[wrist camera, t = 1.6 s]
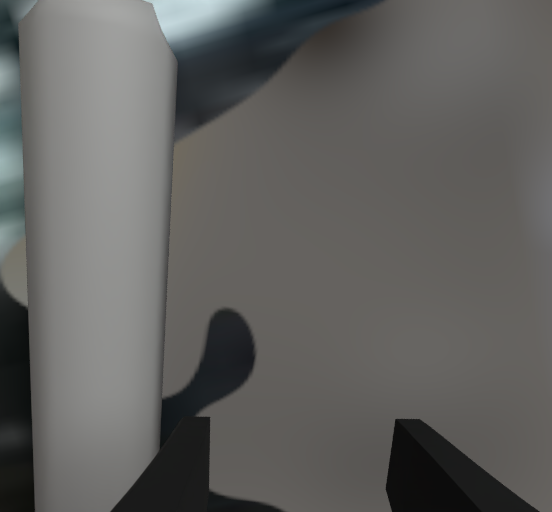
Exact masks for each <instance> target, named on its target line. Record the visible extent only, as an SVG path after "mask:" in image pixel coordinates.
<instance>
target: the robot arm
mask: <svg viewBox="0 0 552 512" xmlns="http://www.w3.org/2000/svg"><path fill="white" fill-rule="evenodd" d="M209 452H210V417H183V418H182V419H181V420H180V421H179V422H178V424H177V426H176V427H175V429H174V430H173V432H172V433H171V435H170V436H169V438H168V439H167V441H166V442H165V444H164V445H163V446H162V448H161V449H160V450H159V452H158V453H157V455H156V456H155V457H154V459H153V460H152V461H151V463H150V464H149V465H148V466H147V468H146V469H145V470H144V472H143V473H142V474H141V475H140V477H139V478H138V479H137V480H136V482H135V483H134V484H133V486H132V487H131V488H130V489H129V490H128V492H127V493H126V494H125V495H124V496H123V497H122V499H121V500H120V501H119V502H118V503H117V504H116V505H115V507H114V508H113V509H112V510H111V511H110V512H206V511H207V502H208V493H209ZM386 491H387V495H388V498H389V502H390V506H391V509H392V512H539V511H538V510H536V509H535V508H534V507H532V506H531V505H530V504H528V503H526V502H525V501H524V500H523V499H521V498H520V497H518V496H517V495H516V494H515V493H513V492H512V491H511V490H509V489H508V488H507V487H505V486H504V485H503V484H501V483H500V482H499V481H498V480H496V479H495V478H494V477H492V476H491V475H490V474H489V473H487V472H486V471H485V470H484V469H482V468H481V467H480V466H478V465H477V464H476V463H475V462H473V461H472V460H471V459H470V458H468V457H467V456H466V455H465V454H463V453H462V452H461V451H460V450H458V449H457V448H456V447H455V446H453V445H452V444H451V443H450V442H449V441H447V440H446V439H445V438H444V437H442V436H441V435H440V434H438V433H437V432H436V431H435V430H434V429H432V428H431V427H430V426H428V425H427V424H426V423H424V422H423V421H421V420H420V419H396V420H395V427H394V434H393V441H392V448H391V455H390V462H389V469H388V476H387V483H386Z"/></svg>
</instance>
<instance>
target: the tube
mask: <svg viewBox="0 0 552 512" xmlns="http://www.w3.org/2000/svg"><path fill="white" fill-rule="evenodd" d="M19 52H20V81H21V111H22V140H23V169H24V199H25V228H26V257H27V284H28V285H27V286H28V316H29V345H30V375H31V404H32V433H33V463H34V492H35V512H110V511H111V510H112V509H113V508H114V507H115V505H116V504H117V503H118V502H119V501H120V500H121V499H122V497H123V496H124V495H125V494H126V493H127V492H128V490H129V489H130V488H131V487H132V486H133V484H134V483H135V482H136V480H137V479H138V478H139V477H140V475H141V474H142V473H143V472H144V470H145V469H146V468H147V466H148V465H149V464H150V463H151V461H152V460H153V459H154V457H155V456H156V455H157V453H158V452H159V448H160V427H161V406H162V383H163V361H164V341H165V319H166V299H167V298H166V297H167V278H168V257H169V235H170V214H171V193H172V172H173V151H174V129H175V108H176V87H177V66H178V62H177V60H176V58H175V56H174V54H173V52H172V50H171V48H170V46H169V44H168V42H167V40H166V38H165V36H164V34H163V32H162V30H161V27H160V25H159V22H158V19H157V16H156V13H155V10H154V7H153V4H152V3H149V2H146V1H142V0H39V1H38V2H37V3H36V4H35V5H34V7H33V8H32V9H31V10H30V11H29V12H28V13H27V15H26V16H25V17H24V18H23V19H22V20H21V21H20V23H19Z"/></svg>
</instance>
